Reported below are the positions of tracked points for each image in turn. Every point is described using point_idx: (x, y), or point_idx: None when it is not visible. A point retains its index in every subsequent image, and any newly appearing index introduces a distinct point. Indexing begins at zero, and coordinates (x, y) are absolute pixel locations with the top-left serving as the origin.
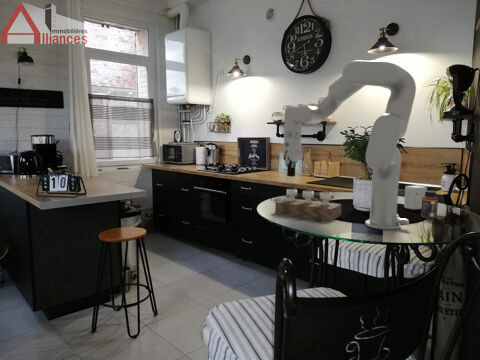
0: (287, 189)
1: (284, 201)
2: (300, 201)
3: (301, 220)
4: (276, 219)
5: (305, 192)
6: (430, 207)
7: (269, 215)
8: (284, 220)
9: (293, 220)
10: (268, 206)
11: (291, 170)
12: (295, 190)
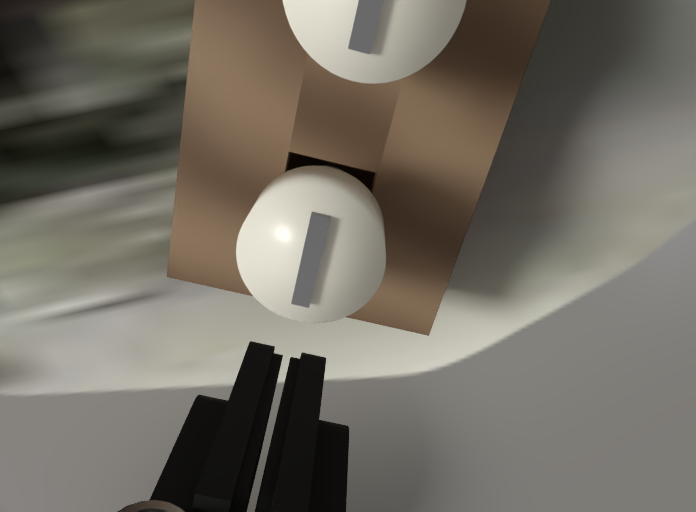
0: (299, 315)
1: None
2: (304, 105)
3: (656, 3)
4: (647, 224)
5: (460, 19)
6: None
7: (517, 303)
8: (675, 155)
9: (665, 79)
10: (202, 382)
11: (342, 494)
12: (345, 202)
